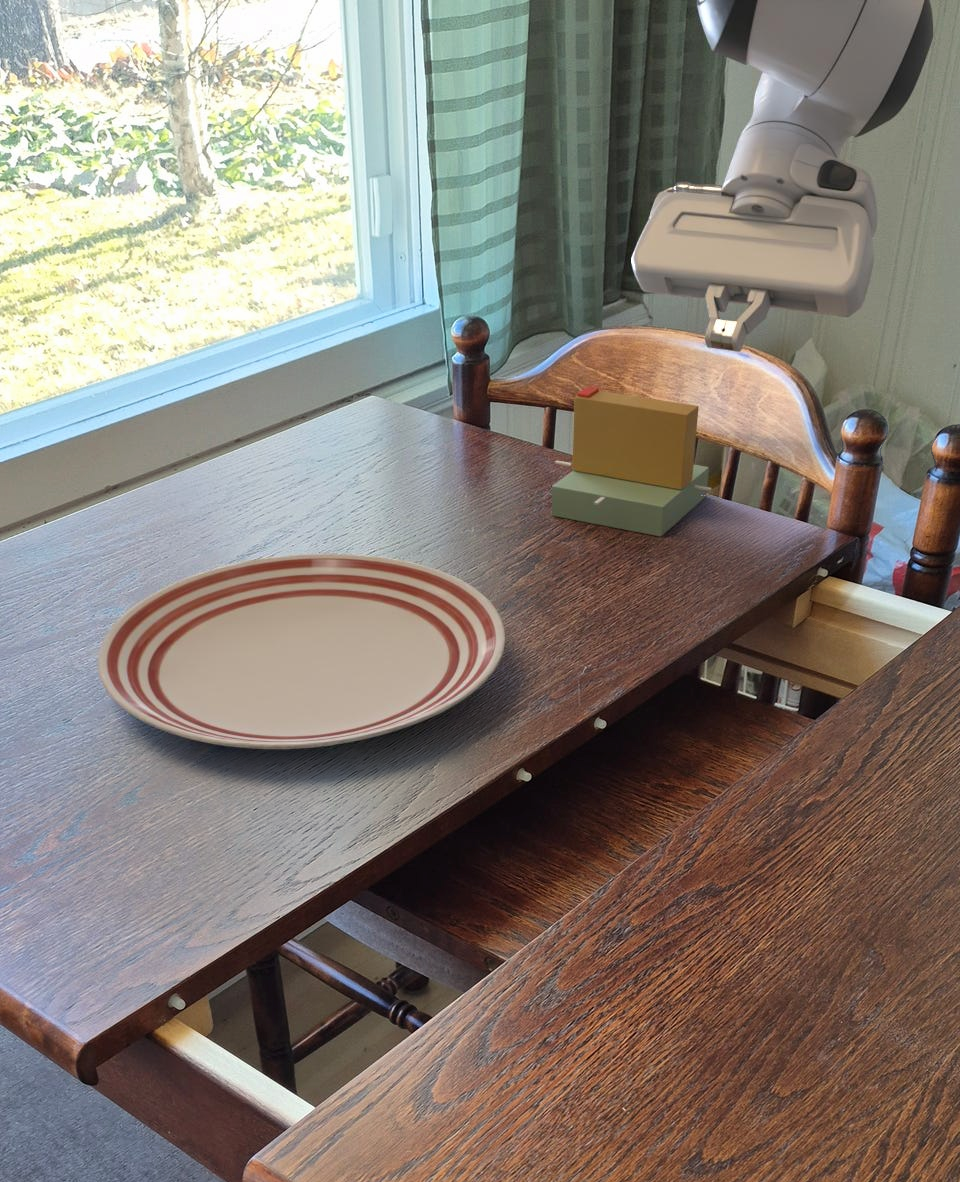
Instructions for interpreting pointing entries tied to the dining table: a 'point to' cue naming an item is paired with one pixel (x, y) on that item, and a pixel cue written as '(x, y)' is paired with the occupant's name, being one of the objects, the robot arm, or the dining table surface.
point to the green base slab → (626, 501)
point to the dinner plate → (301, 650)
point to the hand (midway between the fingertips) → (721, 346)
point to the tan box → (634, 438)
